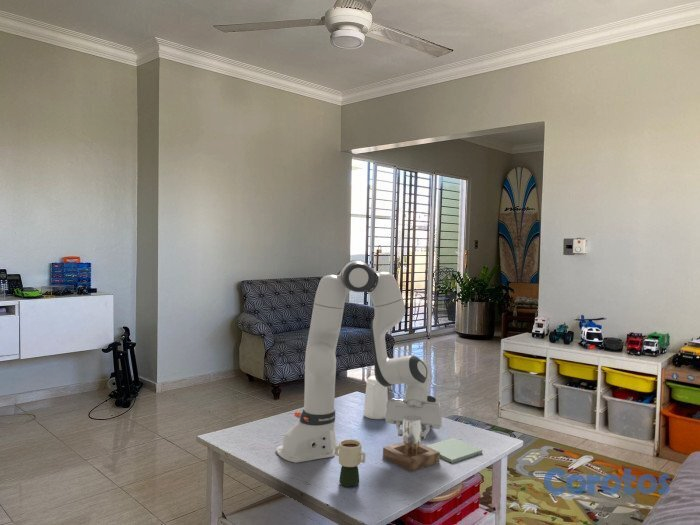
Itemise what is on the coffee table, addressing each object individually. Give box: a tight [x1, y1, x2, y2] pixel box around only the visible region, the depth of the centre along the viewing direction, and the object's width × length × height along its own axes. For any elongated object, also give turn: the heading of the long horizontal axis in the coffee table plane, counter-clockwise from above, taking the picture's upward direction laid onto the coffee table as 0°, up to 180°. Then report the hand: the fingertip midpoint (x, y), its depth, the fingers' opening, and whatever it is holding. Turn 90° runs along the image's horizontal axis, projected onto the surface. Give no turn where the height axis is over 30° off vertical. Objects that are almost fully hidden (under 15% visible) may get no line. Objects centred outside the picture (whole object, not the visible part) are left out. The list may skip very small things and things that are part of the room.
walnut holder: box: [382, 441, 441, 473], centre depth 184 cm, size 14×14×4 cm
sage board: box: [426, 437, 483, 464], centre depth 193 cm, size 16×14×1 cm
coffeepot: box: [363, 375, 389, 420], centre depth 228 cm, size 11×25×19 cm, turn 168°
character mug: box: [334, 438, 366, 487], centre depth 165 cm, size 11×7×13 cm, turn 59°
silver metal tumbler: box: [401, 415, 423, 457], centre depth 184 cm, size 7×7×15 cm
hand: (411, 436), depth 183 cm, fingers closed on silver metal tumbler, 7 cm apart
